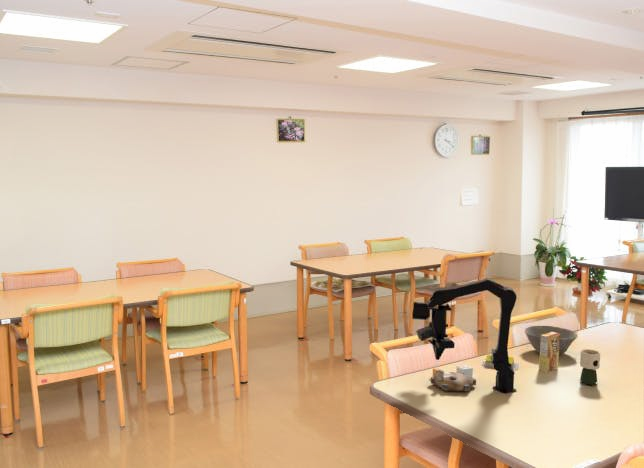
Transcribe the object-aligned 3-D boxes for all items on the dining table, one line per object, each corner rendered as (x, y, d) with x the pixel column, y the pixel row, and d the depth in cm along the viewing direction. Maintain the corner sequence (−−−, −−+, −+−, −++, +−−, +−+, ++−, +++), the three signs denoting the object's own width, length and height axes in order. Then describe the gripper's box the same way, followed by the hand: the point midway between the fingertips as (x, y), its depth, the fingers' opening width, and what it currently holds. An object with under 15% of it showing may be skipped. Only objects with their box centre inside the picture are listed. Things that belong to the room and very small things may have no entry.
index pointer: (441, 377, 246) (441, 369, 245) (436, 378, 245) (436, 370, 244) (437, 375, 248) (437, 367, 248) (432, 376, 247) (432, 368, 247)
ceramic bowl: (513, 349, 286) (514, 328, 285) (549, 343, 296) (550, 323, 295) (548, 363, 266) (550, 341, 265) (586, 356, 276) (588, 335, 275)
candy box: (549, 365, 263) (551, 331, 261) (558, 368, 259) (560, 333, 258) (538, 370, 257) (540, 334, 255) (547, 372, 254) (549, 337, 252)
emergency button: (484, 351, 269) (519, 355, 264) (483, 360, 270) (518, 365, 265) (481, 357, 261) (518, 361, 256) (481, 367, 261) (517, 371, 256)
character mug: (592, 389, 236) (594, 356, 234) (573, 384, 241) (575, 352, 239) (602, 382, 243) (605, 350, 242) (585, 377, 248) (587, 346, 247)
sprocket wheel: (471, 377, 244) (472, 362, 243) (479, 391, 228) (480, 376, 228) (428, 375, 245) (429, 361, 244) (433, 390, 229) (433, 374, 229)
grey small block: (472, 377, 247) (472, 368, 247) (462, 379, 245) (462, 369, 245) (466, 374, 251) (466, 365, 250) (456, 376, 249) (456, 366, 248)
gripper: (411, 315, 243) (410, 353, 245) (427, 327, 225) (426, 368, 227) (437, 314, 245) (436, 352, 247) (455, 326, 227) (454, 367, 229)
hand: (437, 359), depth 238 cm, fingers closed
